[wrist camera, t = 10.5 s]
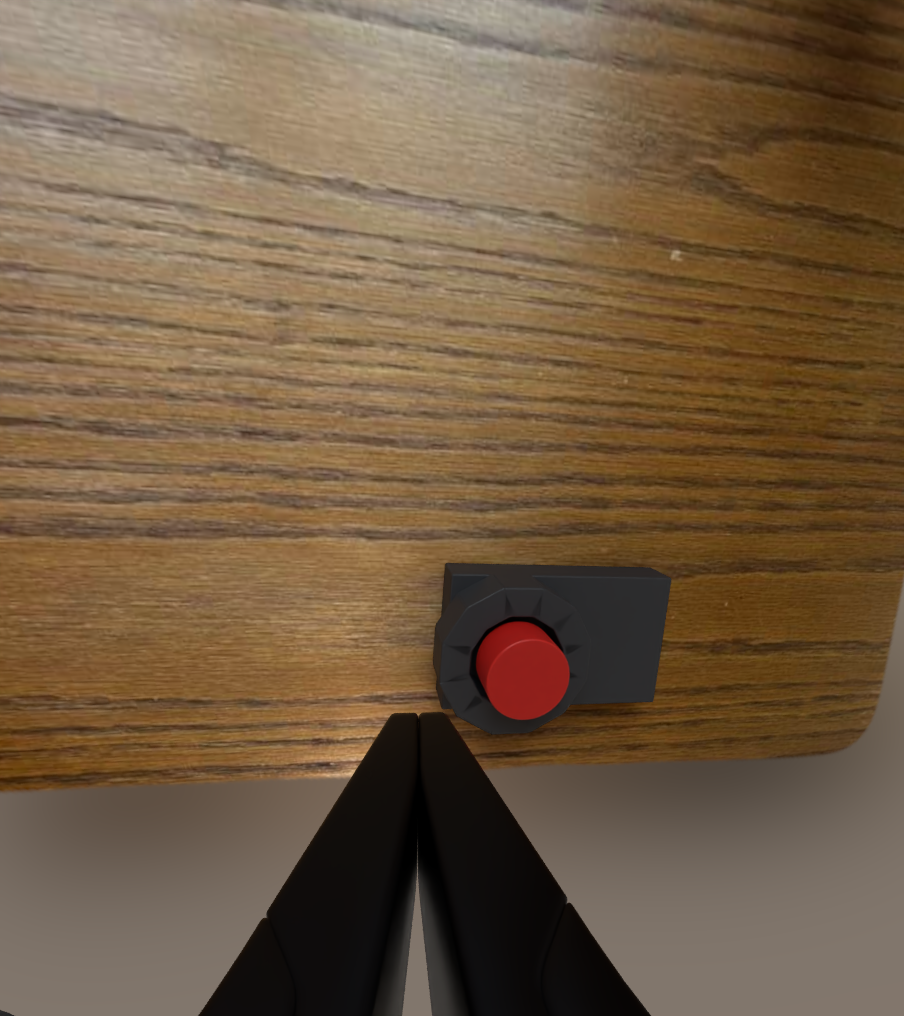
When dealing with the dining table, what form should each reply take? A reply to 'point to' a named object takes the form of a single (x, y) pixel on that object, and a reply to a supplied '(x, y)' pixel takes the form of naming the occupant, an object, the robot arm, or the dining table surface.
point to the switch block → (552, 632)
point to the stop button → (522, 670)
